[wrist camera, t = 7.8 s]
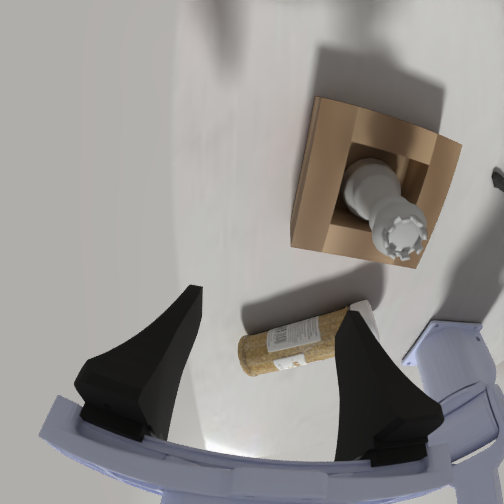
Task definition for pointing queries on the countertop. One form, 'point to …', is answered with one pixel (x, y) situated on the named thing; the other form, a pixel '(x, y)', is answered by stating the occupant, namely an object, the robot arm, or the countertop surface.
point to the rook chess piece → (384, 208)
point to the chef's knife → (498, 181)
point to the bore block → (350, 151)
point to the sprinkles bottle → (297, 342)
